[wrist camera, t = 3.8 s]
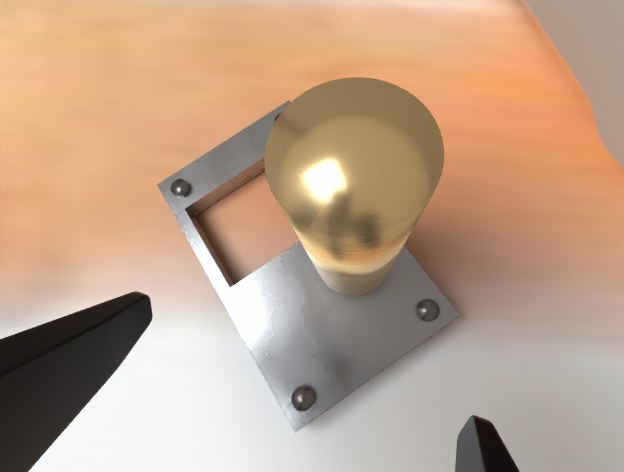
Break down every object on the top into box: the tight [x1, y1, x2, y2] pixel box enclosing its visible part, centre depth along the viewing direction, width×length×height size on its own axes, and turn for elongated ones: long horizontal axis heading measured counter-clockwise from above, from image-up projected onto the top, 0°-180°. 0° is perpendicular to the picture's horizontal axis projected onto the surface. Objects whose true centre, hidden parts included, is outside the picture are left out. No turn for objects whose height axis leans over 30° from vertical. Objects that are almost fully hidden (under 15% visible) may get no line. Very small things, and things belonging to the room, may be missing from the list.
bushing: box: [264, 77, 444, 296], centre depth 14 cm, size 4×4×12 cm
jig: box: [157, 101, 460, 432], centre depth 21 cm, size 18×11×2 cm, turn 33°
